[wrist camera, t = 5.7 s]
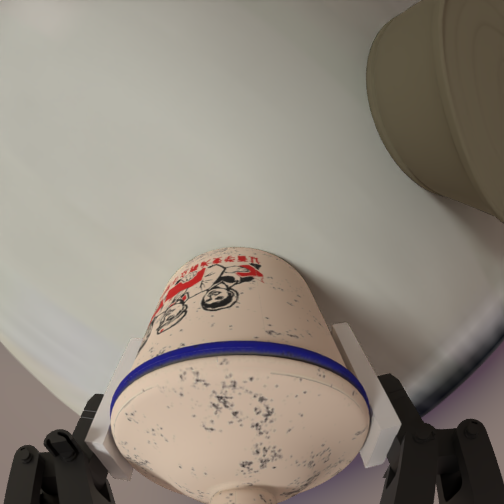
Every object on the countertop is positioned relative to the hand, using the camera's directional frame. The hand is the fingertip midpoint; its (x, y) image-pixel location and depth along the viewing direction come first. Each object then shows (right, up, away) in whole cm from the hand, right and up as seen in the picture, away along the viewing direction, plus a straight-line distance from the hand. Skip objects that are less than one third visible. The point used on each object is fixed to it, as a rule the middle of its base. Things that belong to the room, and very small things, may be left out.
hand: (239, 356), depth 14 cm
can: (+12, +14, -1) cm, 18 cm away
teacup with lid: (-1, +1, +3) cm, 3 cm away
